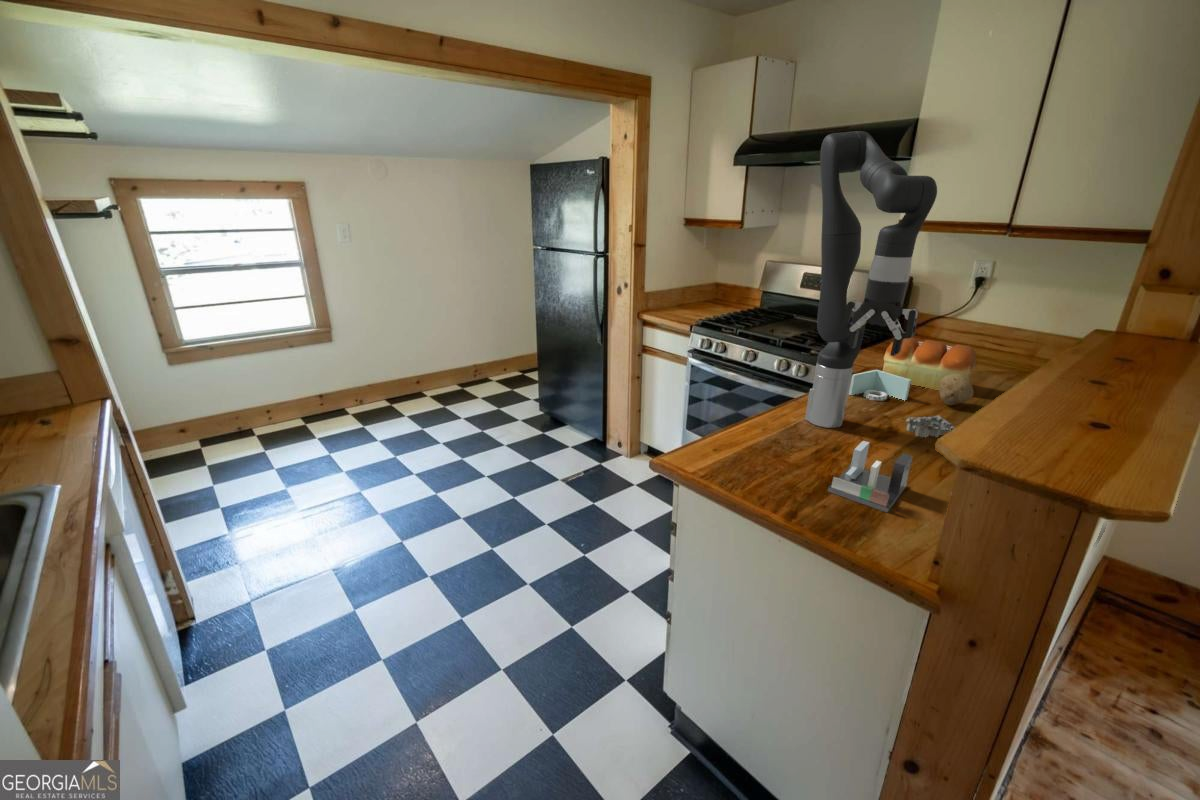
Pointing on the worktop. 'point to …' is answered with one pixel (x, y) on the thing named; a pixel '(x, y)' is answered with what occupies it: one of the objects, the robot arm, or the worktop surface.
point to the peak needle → (874, 474)
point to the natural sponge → (955, 389)
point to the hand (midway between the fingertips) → (872, 351)
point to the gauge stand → (883, 492)
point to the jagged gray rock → (928, 426)
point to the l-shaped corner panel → (879, 385)
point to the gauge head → (858, 461)
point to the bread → (929, 362)
